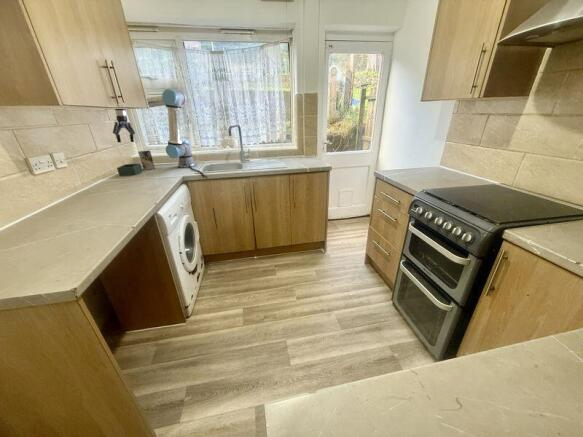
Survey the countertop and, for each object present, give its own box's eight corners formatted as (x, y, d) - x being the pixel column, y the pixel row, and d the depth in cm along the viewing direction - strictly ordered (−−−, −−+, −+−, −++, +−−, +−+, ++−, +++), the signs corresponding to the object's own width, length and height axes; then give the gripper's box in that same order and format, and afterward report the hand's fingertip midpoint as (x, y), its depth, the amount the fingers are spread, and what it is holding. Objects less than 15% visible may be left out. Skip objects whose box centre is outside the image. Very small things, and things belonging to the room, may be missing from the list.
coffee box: (153, 167, 230) (149, 150, 224) (155, 168, 226) (150, 150, 219) (143, 169, 225) (138, 151, 219) (144, 170, 221) (138, 152, 214)
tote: (127, 172, 216) (125, 164, 213) (142, 171, 218) (140, 163, 215) (119, 176, 203) (116, 167, 200) (135, 175, 204) (133, 166, 202)
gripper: (129, 116, 218) (134, 141, 225) (104, 114, 195) (109, 142, 202) (137, 117, 217) (141, 142, 224) (111, 114, 193) (117, 142, 200)
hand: (126, 142), depth 213 cm, fingers open, 13 cm apart
